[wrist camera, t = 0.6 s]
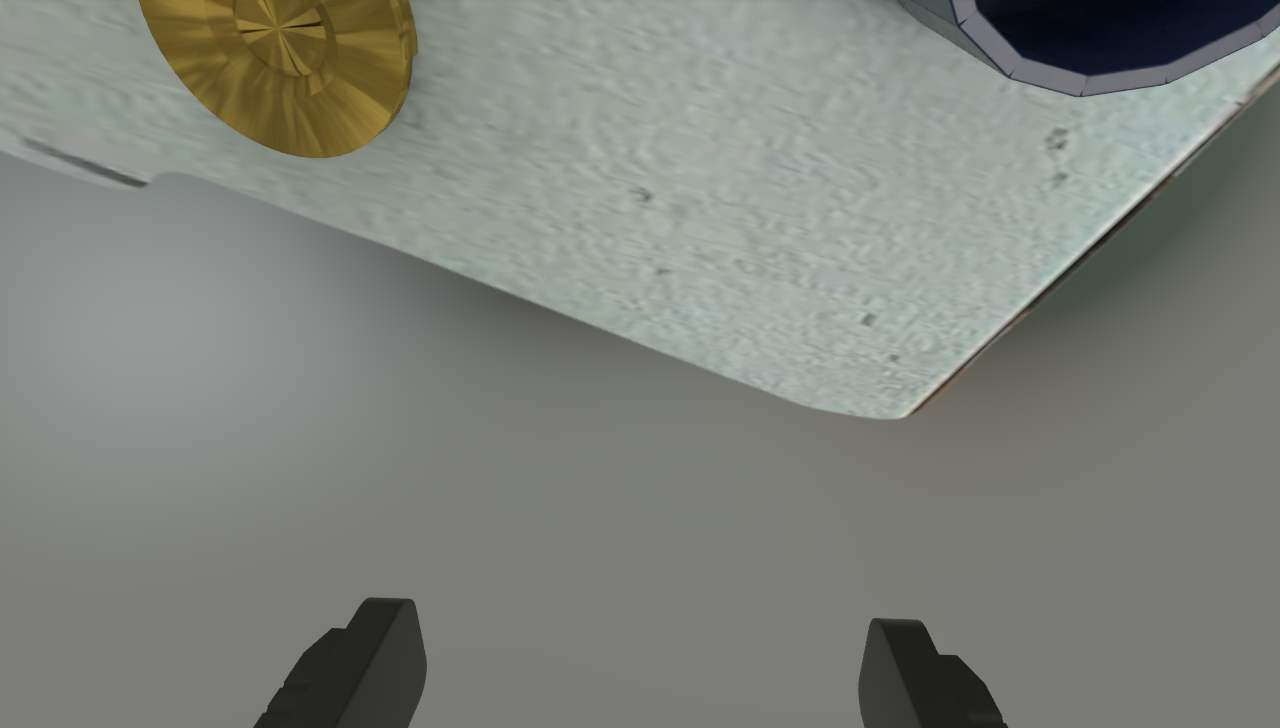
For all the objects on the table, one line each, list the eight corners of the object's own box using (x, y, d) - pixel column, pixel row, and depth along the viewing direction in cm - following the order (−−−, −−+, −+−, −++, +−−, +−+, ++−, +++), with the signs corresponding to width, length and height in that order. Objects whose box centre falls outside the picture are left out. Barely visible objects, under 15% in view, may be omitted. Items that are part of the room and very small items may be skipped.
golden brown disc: (197, -213, 25) (160, -220, 23) (458, -2, 29) (444, 6, 27) (144, 42, 31) (112, 52, 29) (364, 186, 35) (348, 201, 33)
